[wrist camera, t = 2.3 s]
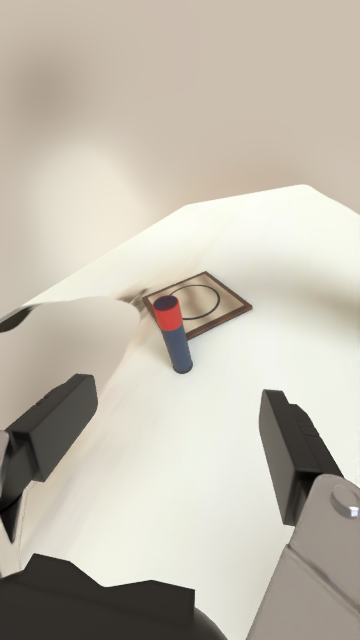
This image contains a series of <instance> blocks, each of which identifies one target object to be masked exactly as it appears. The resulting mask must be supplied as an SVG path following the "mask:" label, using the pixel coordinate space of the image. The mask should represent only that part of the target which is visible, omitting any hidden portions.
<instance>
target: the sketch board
mask: <svg viewBox="0 0 360 640" xmlns="http://www.w3.org/2000/svg"><path fill="white" fill-rule="evenodd" d="M165 295H173V296H175V297H177V298H178V300H179V304H180V309H181V313H182V318H183V326H184V330H185V334H186V339H187V341H188V340H190V339H192V338H194V337H196V336H198V335H200V334H202V333H204V332H206V331H208V330H210V329H212V328H214V327H216V326H218V325H220V324H222V323H225V322H227V321H229V320H231V319H233V318H235V317H237V316H239V315H241V314H243V313H245V312H247V311H249V310H251V309H252V305H250V304H249V303H248V302H246V301H245V300H244V299H242V298H241V297H240V296H238V295H237V294H236V293H234V292H233V291H232V290H230V289H229V288H228V287H226V286H225V285H224V284H222V283H221V282H220V281H218V280H217V279H216V278H214V277H213V276H212V275H210V274H209V273H208V272H206V271H205V272H203V273H200V274H198V275H196V276H193V277H191V278H188V279H186V280H184V281H181V282H179V283H176V284H174V285H171V286H169V287H167V288H164V289H162V290H159V291H157V292H155V293H152V294H150V295H147V296H145V297H143V298H142V299H143V301H144V303H145V304H146V306H147V308H148V309H149V311H150V312H151V314H152V316H153V317H154V319H155V321H156V322H157V319H156V316H155V313H154V310H153V307H152V305H153V302H154V301H155V300H156V299H157V298H159V297H161V296H165ZM157 324H158V322H157ZM160 329H161V328H160Z"/></svg>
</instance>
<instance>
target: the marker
mask: <svg viewBox="0 0 360 640" xmlns="http://www.w3.org/2000/svg"><path fill="white" fill-rule="evenodd" d="M152 307H153V310H154V313H155V316H156V319H157V322H158V325H159V327H160V328H161V331H162V334H163V337H164V340H165V343H166V346H167V349H168V352H169V355H170V358H171V361H172V364H173V368H174V370H175V371H176V372H177V373H179V374H185V373H187V372H189V371H190V370H191V369H192V366H193V363H192V360H191V356H190V352H189V347H188V343H187V339H186V334H185V330H184V326H183V318H182V313H181V309H180V304H179V300H178V298H177V297H175V296H173V295H165V296H161V297H159V298H157V299H156V300H155V301H154V302H153V305H152Z"/></svg>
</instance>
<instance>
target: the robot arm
mask: <svg viewBox="0 0 360 640" xmlns="http://www.w3.org/2000/svg"><path fill="white" fill-rule="evenodd" d="M97 406H98V399H97V392H96V386H95V380H94V377H93V376H92V375H87V374H75V375H74V376H73V377H71V378H70V379H69V380H68V381H67V382H66V383H64V384H62V385H60V386H58V387H56V388H54V389H52V390H51V391H50V392H49V393H48V394H46V395H45V396H44V398H43V399H41V400H40V401H38V402H37V403H36V405H33V406H32V407H31V408H30V409H29V410H28V411H26V412H25V413H24V414H23V415H22V416H20V417H19V418H18V419H17V420H16V421H15V422H13V423H12V424H11V425H10V426H9V427H8V428H6V429H5V430H4V431H0V640H227V638H226V637H225V635H224V634H223V633H222V632H221V630H220V629H219V628H218V627H217V626H216V624H215V623H214V622H213V621H212V620H210V619H209V618H208V617H207V616H206V615H205V614H204V613H203V612H201V611H200V610H198V609H197V608H196V607H195V590H194V589H189V588H185V587H181V586H176V585H172V584H167V583H163V582H159V581H154V580H148V581H142V582H136V583H130V584H124V585H118V586H112V587H103V586H101V585H99V584H98V583H97V582H96V581H94V580H93V579H92V578H91V577H89V576H88V575H87V574H85V573H84V572H83V571H82V570H80V569H79V568H78V567H77V566H75V565H74V564H73V563H71V562H70V561H66V560H62V559H58V558H53V557H49V556H44V555H40V554H36V553H34V554H33V555H32V557H31V559H30V560H29V562H28V564H27V565H26V567H25V569H24V570H22V571H20V563H19V547H20V540H21V533H22V526H23V519H24V512H25V505H26V498H27V489H26V486H27V485H28V484H29V483H30V481H31V480H33V481H39V482H45V481H46V479H47V478H48V476H49V475H50V474H51V472H52V471H53V470H54V468H55V467H56V466H57V464H58V463H59V462H60V460H61V459H62V458H63V456H64V455H65V454H66V452H67V451H68V449H69V448H70V447H71V445H72V444H73V443H74V441H75V440H76V439H77V437H78V436H79V435H80V433H81V432H82V431H83V429H84V428H85V426H86V425H87V424H88V422H89V421H90V420H91V418H92V417H93V416H94V414H95V412H96V410H97ZM259 431H260V436H261V440H262V443H263V447H264V451H265V455H266V459H267V463H268V467H269V471H270V475H271V479H272V482H273V486H274V490H275V494H276V498H277V502H278V506H279V510H280V514H281V518H282V522H283V524H284V525H290V526H295V530H294V532H293V535H292V537H291V540H290V542H289V544H286V546H285V548H284V550H283V552H282V554H281V556H280V559H279V561H278V564H277V566H276V568H275V571H274V573H273V576H272V578H271V580H270V583H269V585H268V588H267V590H266V592H265V595H264V597H263V600H262V602H261V604H260V607H259V609H258V612H257V614H256V616H255V619H254V621H253V624H252V626H251V628H250V631H249V633H248V636H247V638H246V640H360V488H359V487H357V486H356V485H355V484H353V483H352V482H350V481H348V480H346V479H345V478H344V476H343V475H342V473H341V471H340V469H339V468H338V466H337V464H336V462H335V461H334V459H333V457H332V456H331V454H330V452H329V450H328V449H327V447H326V445H325V444H324V442H323V440H322V438H321V437H320V436H319V433H318V432H317V430H316V428H315V427H314V425H313V423H312V421H311V419H310V418H309V416H308V414H307V413H306V412H304V411H303V410H302V409H301V408H300V407H299V406H298V405H297V404H289V403H288V401H287V399H286V397H285V395H284V393H283V391H278V390H266V389H264V390H263V392H262V398H261V406H260V413H259Z"/></svg>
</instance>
